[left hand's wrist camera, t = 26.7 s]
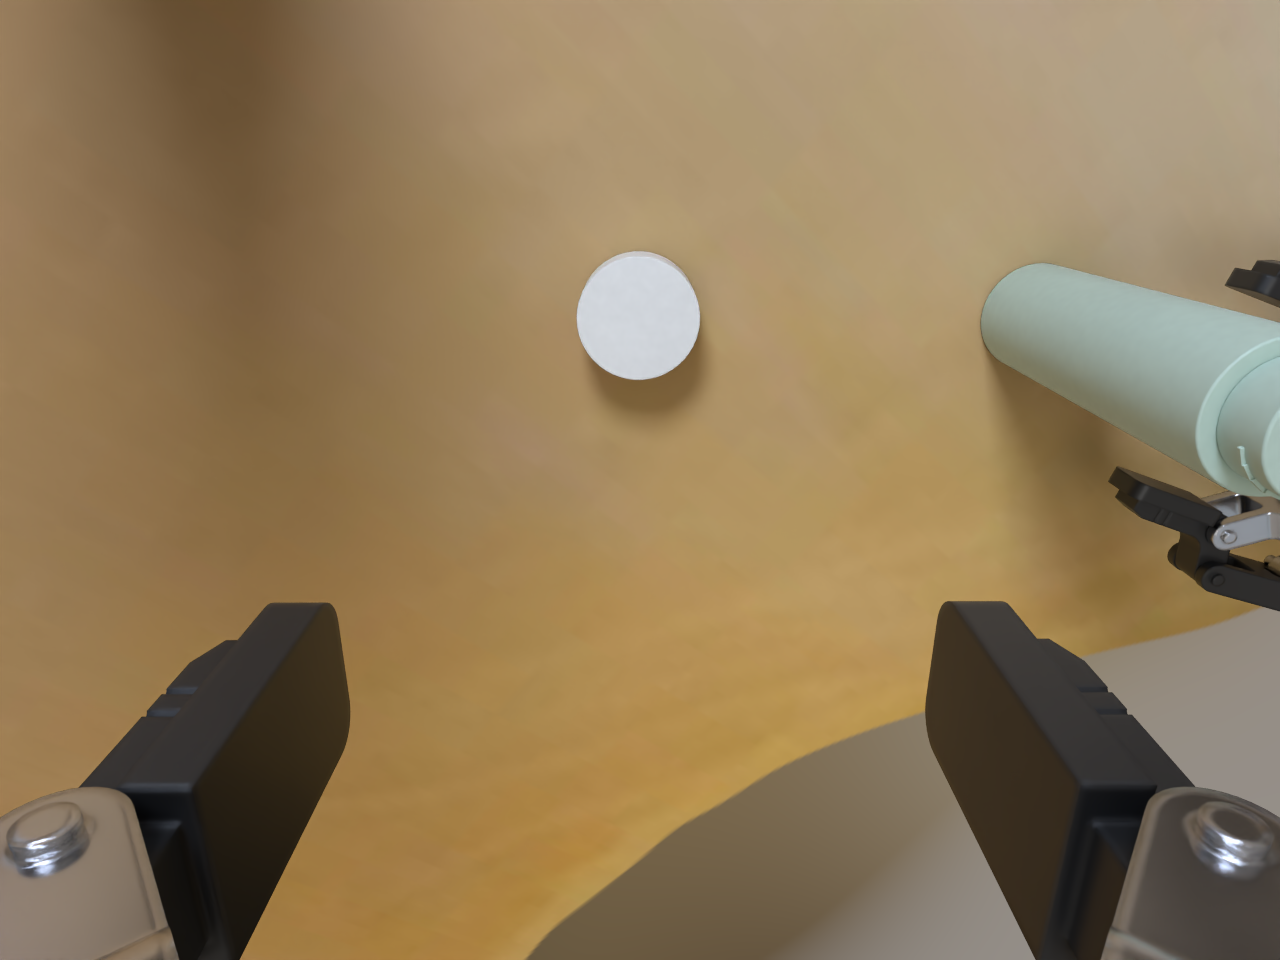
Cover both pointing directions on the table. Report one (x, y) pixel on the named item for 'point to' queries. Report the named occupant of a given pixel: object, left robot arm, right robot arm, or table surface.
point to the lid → (638, 315)
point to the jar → (1149, 367)
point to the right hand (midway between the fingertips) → (1179, 384)
